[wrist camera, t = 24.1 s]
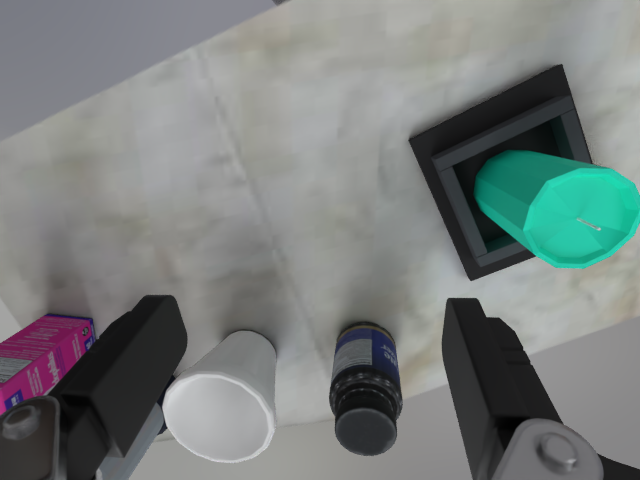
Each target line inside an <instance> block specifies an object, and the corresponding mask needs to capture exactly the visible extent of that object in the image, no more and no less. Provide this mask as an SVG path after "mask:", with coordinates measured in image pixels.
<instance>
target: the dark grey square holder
mask: <svg viewBox="0 0 640 480" xmlns="http://www.w3.org/2000/svg"><path fill="white" fill-rule="evenodd" d="M409 142H410V145H411V147H412V149H413V152H414V154H415V156H416V158H417V161H418V163H419V165H420V168H421V170H422V172H423V174H424V177H425V179H426V181H427V184H428V186H429V188H430V191H431V193H432V195H433V197H434V200H435V202H436V204H437V207H438V209H439V211H440V214H441V216H442V218H443V220H444V223H445V225H446V227H447V230H448V232H449V234H450V236H451V239H452V241H453V243H454V246H455V248H456V250H457V253H458V255H459V257H460V259H461V262H462V264H463V266H464V269H465V271H466V273H467V276H468V278H469V279H470V281H473V280H475V279H478V278H481V277H483V276H486V275H488V274H491V273H494V272H496V271H499V270H502V269H504V268H507V267H509V266H512V265H515V264H517V263H520V262H522V261H525V260H528V259H530V258H533V257H536V255H534V254H533V253H532V252H531V251H529V250H528V249H527V248H526V247H524V246H523V245H522V244H521V243H520V242H518V241H517V240H516V239H515V238H514V237H512V236H511V235H510V234H509V233H507V232H506V231H505V230H504V229H503V228H501V227H500V226H499V225H498V224H497V223H495V222H494V221H493V220H492V219H490V218H489V217H488V216H487V215H486V214H484V213H483V212H482V211H481V210H480V208H479V206H478V204H477V202H476V200H475V198H474V195H473V192H474V184H475V177H476V175H477V174H478V172H479V171H480V170H481V168H482V167H483V165H484V164H485V163H486V161H487V160H488V159H490V158H492V157H494V156H496V155H498V154H500V153H502V152H504V151H506V150H529V151H533V152H538V153H542V154H547V155H552V156H556V157H561V158H565V159H570V160H574V161H579V162H584V163H588V164H593V163H592V159H591V156H590V153H589V150H588V146H587V143H586V140H585V137H584V133H583V130H582V127H581V124H580V120H579V117H578V114H577V111H576V107H575V104H574V101H573V98H572V94H571V91H570V88H569V85H568V81H567V78H566V75H565V72H564V68H563V65H562V64H560V65H557V66H555V67H553V68H551V69H549V70H547V71H545V72H543V73H541V74H539V75H537V76H535V77H533V78H531V79H529V80H527V81H525V82H523V83H521V84H519V85H517V86H515V87H513V88H511V89H509V90H507V91H505V92H503V93H501V94H499V95H497V96H495V97H493V98H491V99H489V100H487V101H485V102H483V103H481V104H479V105H477V106H475V107H473V108H471V109H469V110H467V111H465V112H463V113H461V114H459V115H457V116H455V117H453V118H451V119H449V120H447V121H445V122H443V123H441V124H439V125H437V126H435V127H433V128H431V129H429V130H427V131H425V132H423V133H421V134H419V135H417V136H415V137H413V138H411V139H409Z"/></svg>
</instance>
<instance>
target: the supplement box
mask: <svg viewBox="0 0 640 480" xmlns="http://www.w3.org/2000/svg"><path fill="white" fill-rule="evenodd" d="M95 341H96V340H95V334H94V328H93V320H92V319H90V318H80V317H71V316H61V315H53V314H46V315H44V316H43V317H41V318H40V319H38V320H36V321H35V322H33V323H32V324H30V325H29V326H27V327H26V328H24V329H22V330H21V331H19V332H18V333H16V334H14V335H13V336H12V337H10V338H8V339H7V340H5V341H3V342H2V343H0V415H1V414H3V413H4V412H5V411H6V410H8V409H9V408H11V407H13V406H14V405H16V404H18V403H20V402H22V401H24V400H26V399H29V398H32V397H36V396H42V395H47V394H48V393H49V392H50V391H51V390H52V389H53V388H54V386H55V385H56V384H57V383H58V382H59V381H60V380H61V379H62V378H63V376H64V375H65V374H66V373H67V372H68V371H69V370H70V369H71V368H72V366H73V365H74V364H75V363H76V362H77V361H78V360H79V359H80V358H81V356H82V355H83V354H84V353H85V352H86V351H89V348H90V346H91V345H92V344H93V343H94V342H95Z"/></svg>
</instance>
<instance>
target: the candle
mask: <svg viewBox="0 0 640 480" xmlns="http://www.w3.org/2000/svg"><path fill="white" fill-rule="evenodd" d="M473 195H474V198H475V200H476V202H477V204H478V206H479V208H480V210H481V211H482V212H483V213H484V214H486V215H487V216H488V217H489V218H490V219H492V220H493V221H494V222H495V223H497V224H498V225H499V226H500V227H501V228H503V229H504V230H505V231H506V232H507V233H509V234H510V235H511V236H512V237H514V238H515V239H516V240H517V241H518V242H520V243H521V244H522V245H523V246H524V247H526V248H527V249H528V250H529V251H531V252H532V253H533V254H534V255H536V256H537V257H539V258H541V259H542V260H544V261H546V262H547V263H549V264H551V265H552V266H554V267H556V268H582V269H584V268H586V267H588V266H591V265H593V264H595V263H597V262H599V261H602V260H604V259H606V258H608V257H610V256H612V255H613V254H614V253H615V252H616V251H617V250H618V249H619V248H621V247H622V246H623V245H624V244H625V243H626V242H627V241H628V240H629V239H631V238H632V237H633V236H634V234H635V232H636V230H637V228H638V225H639V223H640V195H639V193H638V190H637V188H636V186H635V184H634V183H633V182H631V181H630V180H628V179H627V178H625V177H624V176H622V175H621V174H619V173H618V172H616V171H615V170H613V169H611V168H606V167H602V166H597V165H593V164H588V163H584V162H579V161H574V160H570V159H565V158H561V157H556V156H552V155H547V154H542V153H538V152H533V151H529V150H506V151H504V152H502V153H500V154H498V155H496V156H494V157H492V158H490V159H488V160H487V161H486V163H485V164H484V165H483V167H482V168H481V170H480V171H479V172H478V174H477V175H476V177H475V184H474V192H473Z"/></svg>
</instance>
